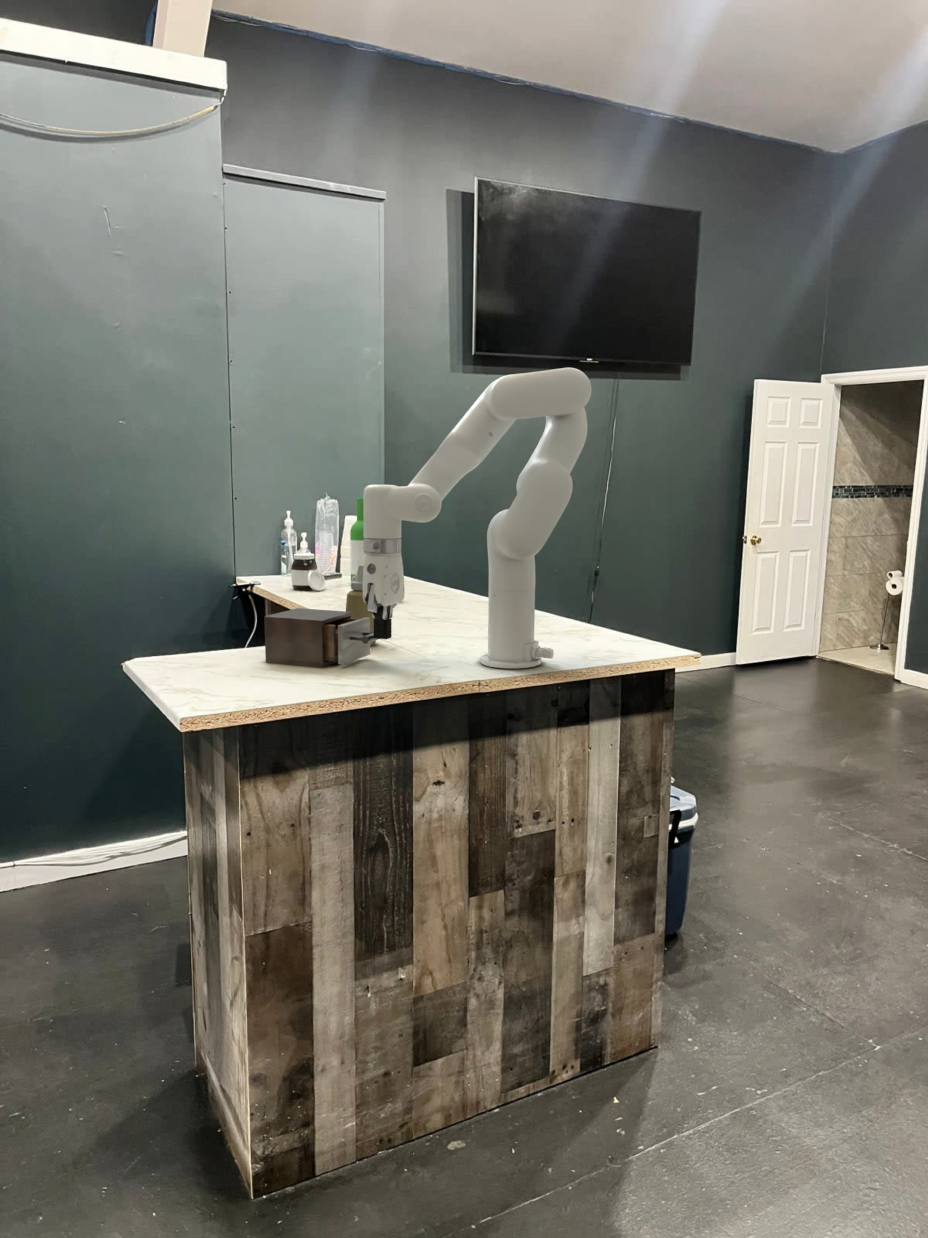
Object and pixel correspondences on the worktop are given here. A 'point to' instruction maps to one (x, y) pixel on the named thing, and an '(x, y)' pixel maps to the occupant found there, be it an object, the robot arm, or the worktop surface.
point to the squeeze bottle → (359, 601)
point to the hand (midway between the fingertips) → (382, 638)
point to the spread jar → (306, 573)
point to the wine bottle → (357, 540)
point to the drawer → (347, 639)
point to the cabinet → (299, 636)
